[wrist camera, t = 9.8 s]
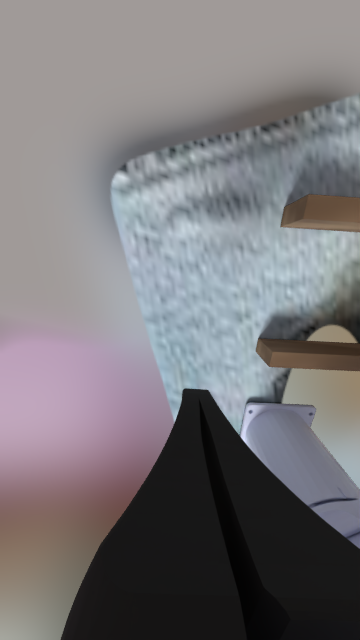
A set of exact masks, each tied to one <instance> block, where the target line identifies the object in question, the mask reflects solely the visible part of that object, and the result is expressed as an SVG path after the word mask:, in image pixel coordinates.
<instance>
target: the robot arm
mask: <svg viewBox="0 0 360 640" xmlns="http://www.w3.org/2000/svg"><path fill="white" fill-rule="evenodd" d="M249 410H251V411H249ZM315 412H316V408H315V407H314V406H313V405H299V404H276V403H252V402H251V403H248V404H247V405H246V408H245V413H244V418H243V423H242V428H241V433H240V436H239V434H238V433H237V432H236V431H235V429H234V428H233V427H232V425H231V424H230V422H229V421H228V420H227V418H226V417H225V415H224V414H223V413H222V411H221V410H220V408H219V407H218V405H217V403H216V402H215V400H214V399H213V397H212V395H211V394H210V392H209V391H208V390H201V389H184V390H183V393H182V402H181V406H180V409H179V412H178V415H177V418H176V421H175V423H174V426H173V428H172V431H171V433H170V435H169V438H168V440H167V442H166V444H165V446H164V448H163V450H162V452H161V454H160V456H159V457H158V459H157V461H156V463H155V465H154V466H153V468H152V470H151V472H150V473H149V475H148V477H147V478H146V480H145V481H144V483H143V484H142V486H141V488H140V489H139V491H138V492H137V494H136V495H135V497H134V498H133V500H132V501H131V503H130V504H129V506H128V507H127V509H126V510H125V512H124V513H123V514H122V516H121V517H120V519H119V520H118V521H117V523H116V524H115V525H114V527H113V528H112V529H111V531H110V532H109V533H108V535H107V536H106V538H105V539H104V540H103V542H102V543H101V545H100V546H99V548H98V551H97V552H96V554H95V556H94V559H93V560H92V562H91V564H90V566H89V568H88V571H87V573H86V575H85V577H84V579H83V581H82V583H81V586H80V588H79V590H78V593H77V595H76V597H75V600H74V603H73V605H72V608H71V610H70V613H69V616H68V619H67V621H66V625H65V628H64V631H63V634H62V637H61V640H360V489H359V488H358V487H357V486H356V484H355V483H354V482H353V481H352V479H351V478H350V477H349V476H348V474H347V473H346V472H345V471H344V469H343V468H342V467H341V466H340V464H339V463H338V462H337V461H336V459H335V458H334V457H333V456H332V455H331V453H330V452H329V451H328V449H327V448H326V447H325V446H324V444H323V443H322V442H321V441H320V440H319V438H318V437H317V436H316V435H315V434H314V432H313V431H312V429H311V428H310V426H311V424H312V421H313V418H314V415H315Z"/></svg>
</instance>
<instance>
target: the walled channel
mask: <svg viewBox="0 0 360 640" xmlns="http://www.w3.org/2000/svg"><path fill="white" fill-rule="evenodd" d="M281 227H288V228H303V229H318V230H334V231H349V232H360V198H355V197H341V196H326V195H312V194H308V195H306V196H305V197H303V198H301V199H299V200H297V201H295V202H293V203H291V204H290V205H288V206H286V207H284V212H283V217H282V222H281ZM256 352H257V354H258V355H259V356H260V357H261V358H262V359H263V360H264V362H265V363H266V364H267V365H268V366H269V367H282V368H303V369H325V370H347V371H360V344H359V343H339V342H318V341H300V340H280V339H261V338H258V342H257V347H256Z"/></svg>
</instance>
